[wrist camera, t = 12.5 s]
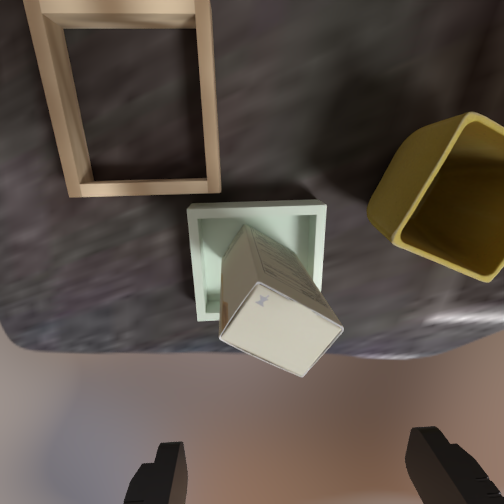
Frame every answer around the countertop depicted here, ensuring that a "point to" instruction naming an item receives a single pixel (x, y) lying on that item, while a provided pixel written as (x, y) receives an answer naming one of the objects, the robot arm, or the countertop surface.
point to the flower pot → (447, 195)
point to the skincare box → (273, 305)
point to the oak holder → (65, 98)
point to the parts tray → (261, 219)
